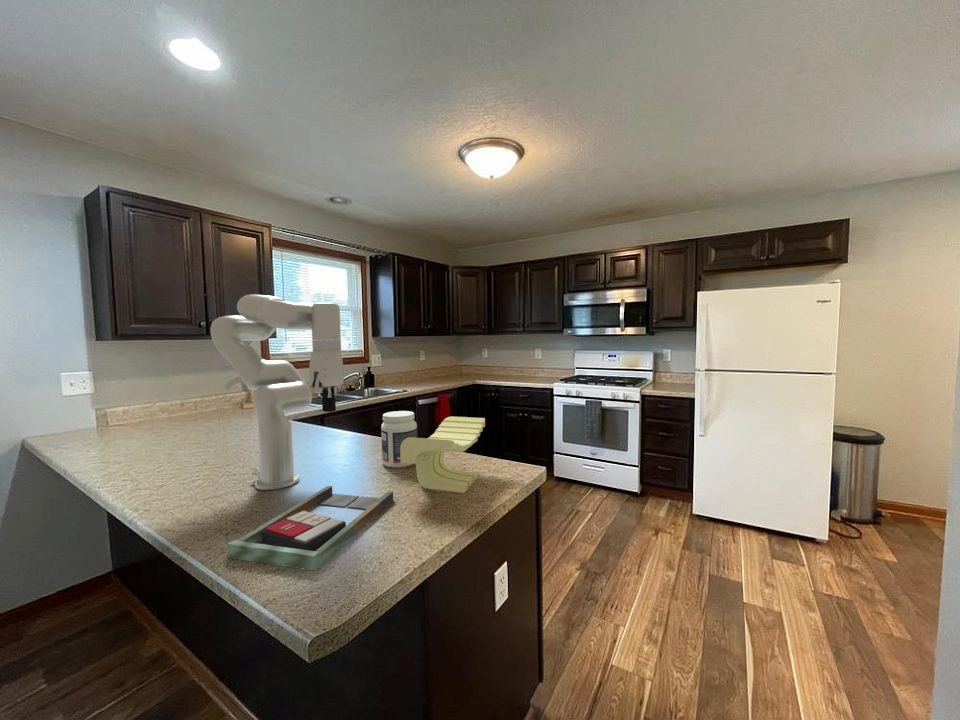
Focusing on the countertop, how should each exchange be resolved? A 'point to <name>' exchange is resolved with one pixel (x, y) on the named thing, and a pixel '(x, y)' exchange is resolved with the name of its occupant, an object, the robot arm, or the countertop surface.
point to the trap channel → (308, 559)
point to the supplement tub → (396, 436)
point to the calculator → (302, 531)
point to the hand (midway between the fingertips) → (329, 411)
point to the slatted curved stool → (430, 453)
